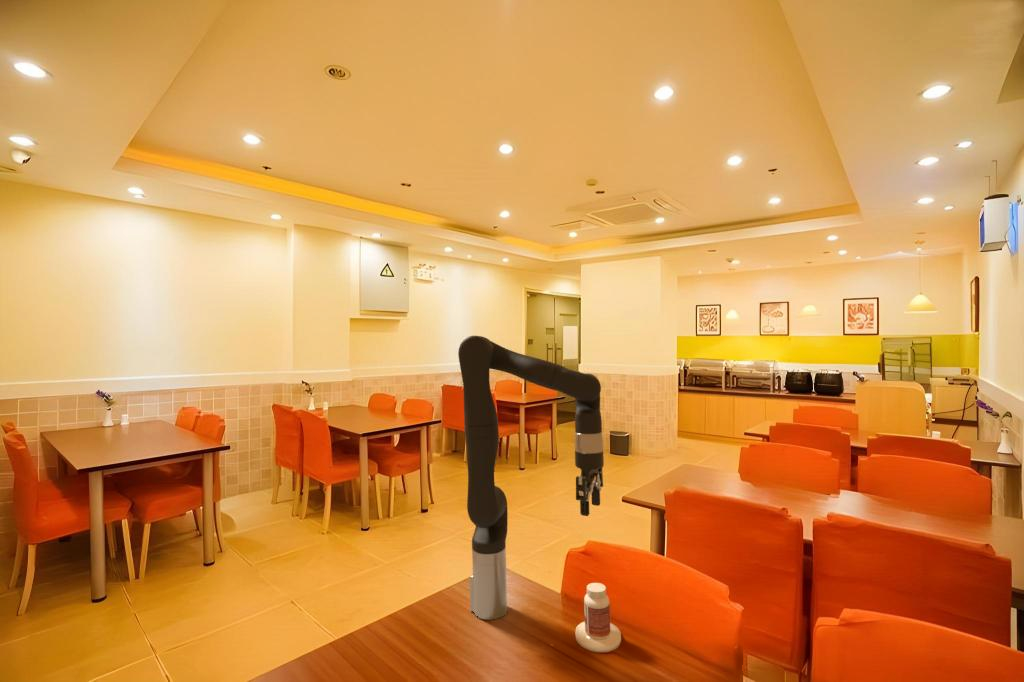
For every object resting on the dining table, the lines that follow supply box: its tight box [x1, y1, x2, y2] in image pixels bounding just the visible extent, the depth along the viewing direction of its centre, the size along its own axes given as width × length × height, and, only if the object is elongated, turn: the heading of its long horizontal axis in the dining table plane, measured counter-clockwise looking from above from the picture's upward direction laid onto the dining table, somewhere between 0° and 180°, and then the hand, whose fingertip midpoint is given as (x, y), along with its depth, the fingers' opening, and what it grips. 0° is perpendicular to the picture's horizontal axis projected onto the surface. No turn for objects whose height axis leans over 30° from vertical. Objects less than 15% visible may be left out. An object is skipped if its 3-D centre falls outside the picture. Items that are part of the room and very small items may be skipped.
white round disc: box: [574, 620, 622, 653], centre depth 114 cm, size 11×11×1 cm
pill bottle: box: [583, 582, 611, 639], centre depth 114 cm, size 6×6×11 cm
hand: (590, 510), depth 123 cm, fingers open, 8 cm apart
